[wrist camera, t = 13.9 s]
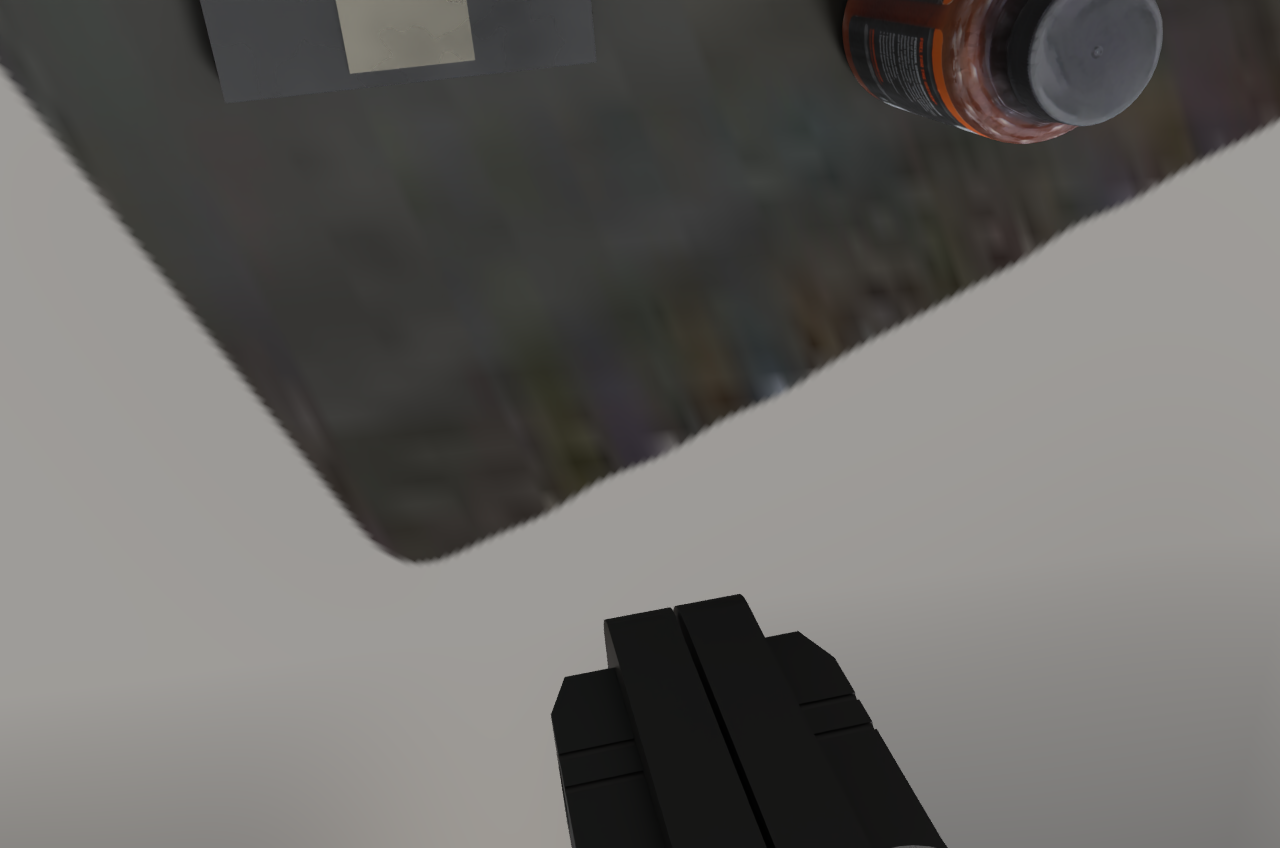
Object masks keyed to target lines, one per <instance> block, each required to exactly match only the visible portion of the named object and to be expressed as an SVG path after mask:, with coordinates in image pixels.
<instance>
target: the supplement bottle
mask: <svg viewBox="0 0 1280 848" xmlns="http://www.w3.org/2000/svg"><path fill="white" fill-rule="evenodd" d="M842 33H843V44H844V50H845V54H846V58H847V61H848V64H849V66H850V68H851V71H852V72H853V74H854V76H855V78H856V79H857V81H858V82H859V83H860V84H861V85H862V87H863V88H864V89H865V90H867V91H868V92H869V93H870V94H871V95H873V96H874V97H876V98H877V99H879V100H881V101H883V102H885V103H887V104H889V105H891V106H894V107H896V108H900V109H903V110H906V111H909V112H912V113H914V114H918V115H920V116H924V117H926V118H929V119H932V120H936V121H939V122H942V123H945V124H947V125H951V126H954V127H957V128H960V129H963V130H966V131H969V132H972V133H976V134H979V135H982V136H985V137H988V138H991V139H994V140H998V141H1002V142H1008V143H1017V144H1028V143H1036V142H1041V141H1045V140H1049V139H1052V138H1055V137H1058V136H1060V135H1062V134H1065V133H1067V132H1068V131H1070V130H1072V129H1074V128H1075V127H1078V126H1087V125H1094V124H1098V123H1101V122H1104V121H1106V120H1108V119H1110V118H1113V117H1114V116H1116V115H1118V114H1119V113H1121V112H1122V111H1123V110H1125V109H1126V108H1127V107H1129V106H1130V105H1131V103H1132V102H1133V101H1135V100H1136V99H1137V97H1138V96H1139V95H1140V94H1141V92H1142V91H1143V89H1144V88H1145V87H1146V85H1147V84H1148V82H1149V80H1150V79H1151V77H1152V75H1153V72H1154V70H1155V68H1156V66H1157V62H1158V59H1159V55H1160V51H1161V48H1162V36H1163V30H1162V18H1161V13H1160V11H1159V7H1158V5H1157V3H1156V1H1155V0H848V1H847V4H846V8H845V12H844V18H843V24H842Z"/></svg>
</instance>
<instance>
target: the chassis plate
mask: <svg viewBox="0 0 1280 848" xmlns="http://www.w3.org/2000/svg"><path fill="white" fill-rule="evenodd" d="M200 3H201V7H202V11H203V15H204V19H205V23H206V27H207V31H208V35H209V39H210V43H211V47H212V51H213V55H214V59H215V64H216V68H217V72H218V76H219V80H220V84H221V88H222V92H223V96H224V100H225V103H233V102H242V101H251V100H260V99H269V98H278V97H287V96H296V95H305V94H314V93H323V92H332V91H341V90H350V89H359V88H368V87H377V86H386V85H395V84H404V83H413V82H422V81H431V80H440V79H449V78H458V77H467V76H476V75H485V74H494V73H503V72H512V71H521V70H530V69H539V68H549V67H558V66H567V65H576V64H585V63H594V62H597V60H596V50H595V39H594V28H593V18H592V7H591V0H200Z"/></svg>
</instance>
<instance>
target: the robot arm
mask: <svg viewBox="0 0 1280 848" xmlns="http://www.w3.org/2000/svg"><path fill="white" fill-rule="evenodd" d="M604 634H605V644H606V652H607V661H608V669H604V670H599V671H594V672H589V673H583V674H579V675H573V676H568V677H565V678H564V681H563V683H562V686H561V689H560V691H559V694H558V697H557V700H556V702H555V705H554V708H553V711H552V713H551V718H552V725H553V731H554V737H555V744H556V750H557V757H558V764H559V771H560V778H561V784H562V791H563V797H564V803H565V811H566V817H567V824H568V829H569V834H570V840H571V845H572V848H947V846H946V845H945V843H944V842H943V841H942V839H941V838H940V836H939V834H938V832H937V831H936V829H935V827H934V825H933V824H932V822H931V820H930V819H929V817H928V816H927V814H926V812H925V810H924V809H923V807H922V805H921V804H920V802H919V800H918V799H917V797H916V795H915V793H914V792H913V790H912V788H911V787H910V785H909V783H908V781H907V780H906V778H905V776H904V775H903V773H902V771H901V770H900V768H899V766H898V765H897V763H896V761H895V759H894V758H893V756H892V754H891V753H890V751H889V749H888V747H887V746H886V744H885V742H884V741H883V739H882V737H881V736H880V734H879V732H878V731H877V729H875V730H874V728H873V725H872V720H871V719H870V717H869V715H868V714H867V712H866V710H865V709H864V707H863V705H862V704H861V702H860V700H857V699H856V696H855V692H854V690H853V688H852V686H851V685H850V683H849V681H848V680H847V678H846V676H845V675H844V673H843V672H842V670H841V668H840V666H839V665H838V663H837V661H836V659H835V658H834V657H833V656H831V655H830V654H829V653H827V652H826V651H825V650H823V649H822V648H821V647H819V646H818V645H816V644H815V643H814V642H812V641H811V640H809V639H808V638H807V637H805V636H804V635H803V634H801V633H800V632H799V631H797V632H792V633H787V634H781V635H776V636H771V637H766V638H765V637H764V635H763V633H762V631H761V629H760V627H759V625H758V623H757V621H756V619H755V617H754V615H753V613H752V611H751V609H750V608H749V605H748V603H747V602H746V600H745V598H744V597H743V596H742V595H741V594H737V595H732V596H726V597H721V598H716V599H710V600H705V601H700V602H695V603H690V604H684V605H678V606H675V607H674V610H672V609H671V608H664V609H659V610H654V611H648V612H643V613H637V614H632V615H627V616H622V617H616V618H611V619H606V620H604Z"/></svg>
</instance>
